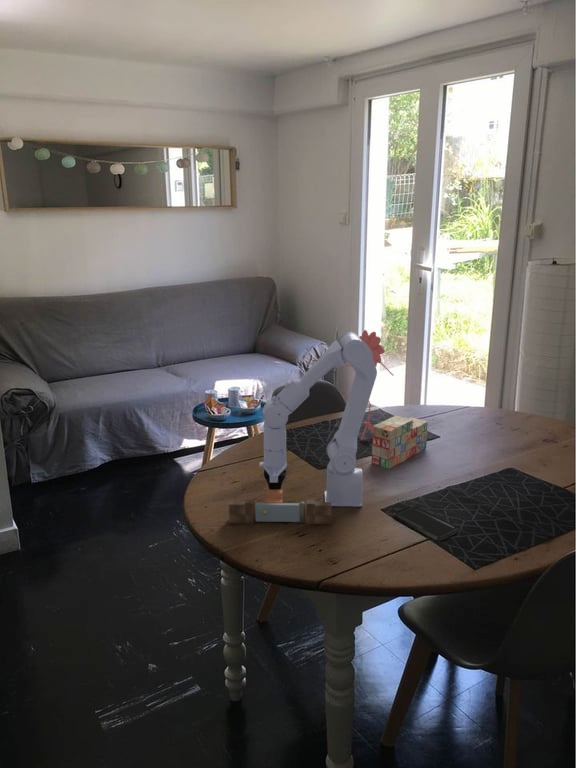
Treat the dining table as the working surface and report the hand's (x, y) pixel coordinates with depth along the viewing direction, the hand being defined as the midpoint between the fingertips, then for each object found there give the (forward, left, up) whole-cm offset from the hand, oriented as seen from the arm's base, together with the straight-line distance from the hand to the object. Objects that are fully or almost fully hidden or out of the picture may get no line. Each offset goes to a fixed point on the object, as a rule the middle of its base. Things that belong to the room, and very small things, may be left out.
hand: (275, 496), depth 165 cm
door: (-2, +10, -2) cm, 11 cm away
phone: (-37, +10, -2) cm, 38 cm away
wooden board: (-1, +10, -2) cm, 10 cm away
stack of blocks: (-37, -32, -2) cm, 49 cm away
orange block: (0, +5, -2) cm, 6 cm away
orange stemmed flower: (-29, -52, -2) cm, 60 cm away
